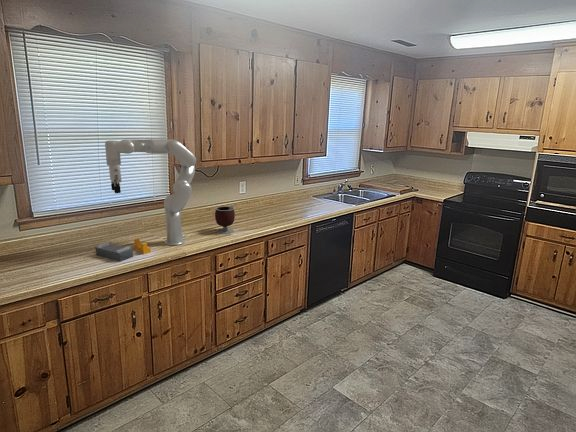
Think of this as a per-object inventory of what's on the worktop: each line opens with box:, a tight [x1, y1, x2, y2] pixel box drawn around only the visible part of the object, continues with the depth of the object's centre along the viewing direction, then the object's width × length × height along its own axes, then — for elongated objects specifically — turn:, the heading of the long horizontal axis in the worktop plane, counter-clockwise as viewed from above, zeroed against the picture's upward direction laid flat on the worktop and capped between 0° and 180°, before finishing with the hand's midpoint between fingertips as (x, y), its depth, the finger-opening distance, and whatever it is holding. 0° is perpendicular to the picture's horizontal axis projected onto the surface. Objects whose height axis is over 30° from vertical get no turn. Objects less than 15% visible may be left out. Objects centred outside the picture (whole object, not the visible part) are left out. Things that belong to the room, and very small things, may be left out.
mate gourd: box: [214, 203, 237, 235], centre depth 279 cm, size 16×14×20 cm
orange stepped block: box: [133, 238, 151, 255], centre depth 238 cm, size 12×4×6 cm, turn 45°
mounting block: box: [94, 241, 134, 263], centre depth 228 cm, size 9×20×6 cm, turn 64°
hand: (116, 191), depth 229 cm, fingers open, 9 cm apart
